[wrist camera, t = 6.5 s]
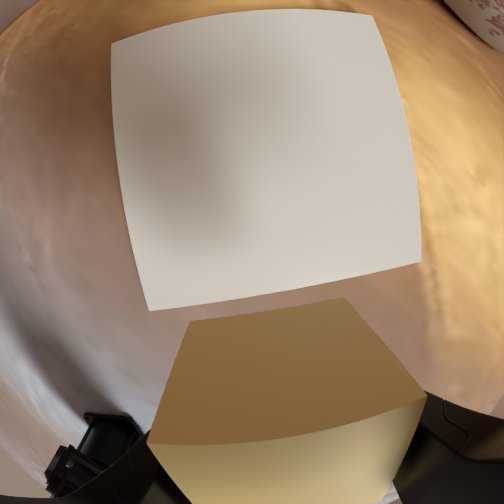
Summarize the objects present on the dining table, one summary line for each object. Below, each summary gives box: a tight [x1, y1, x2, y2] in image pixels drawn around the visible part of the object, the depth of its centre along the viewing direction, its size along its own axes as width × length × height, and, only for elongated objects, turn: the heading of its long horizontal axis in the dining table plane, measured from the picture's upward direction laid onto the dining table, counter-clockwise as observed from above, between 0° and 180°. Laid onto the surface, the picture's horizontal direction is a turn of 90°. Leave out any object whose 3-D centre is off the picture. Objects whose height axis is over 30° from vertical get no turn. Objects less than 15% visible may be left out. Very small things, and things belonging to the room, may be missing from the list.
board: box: [111, 9, 421, 311], centre depth 16 cm, size 20×20×2 cm
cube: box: [146, 297, 427, 504], centre depth 7 cm, size 5×5×5 cm
